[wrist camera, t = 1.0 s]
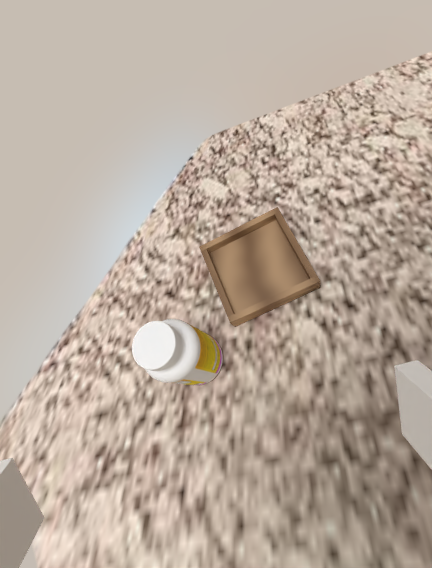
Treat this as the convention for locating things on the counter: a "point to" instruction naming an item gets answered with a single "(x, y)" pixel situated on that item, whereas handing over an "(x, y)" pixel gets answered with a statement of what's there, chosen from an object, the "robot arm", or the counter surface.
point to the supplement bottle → (177, 352)
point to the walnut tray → (258, 267)
